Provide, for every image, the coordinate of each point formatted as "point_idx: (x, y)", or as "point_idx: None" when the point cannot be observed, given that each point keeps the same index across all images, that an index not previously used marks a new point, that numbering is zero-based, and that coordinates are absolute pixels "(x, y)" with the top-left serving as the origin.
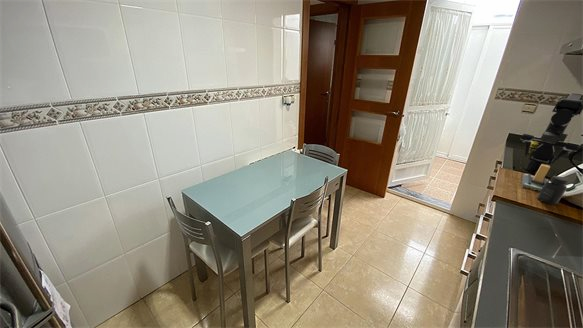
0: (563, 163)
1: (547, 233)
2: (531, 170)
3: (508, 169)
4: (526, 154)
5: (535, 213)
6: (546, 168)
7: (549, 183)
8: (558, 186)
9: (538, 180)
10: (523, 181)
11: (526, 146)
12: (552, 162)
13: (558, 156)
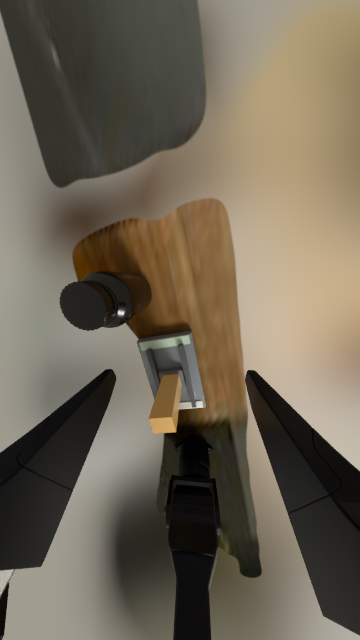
0: (164, 516)
1: (67, 35)
2: (197, 442)
3: (237, 416)
4: (258, 382)
5: (125, 166)
6: (157, 411)
7: (116, 281)
8: (89, 276)
9: (169, 375)
10: (195, 353)
11: (358, 478)
12: (106, 372)
13: (51, 423)
